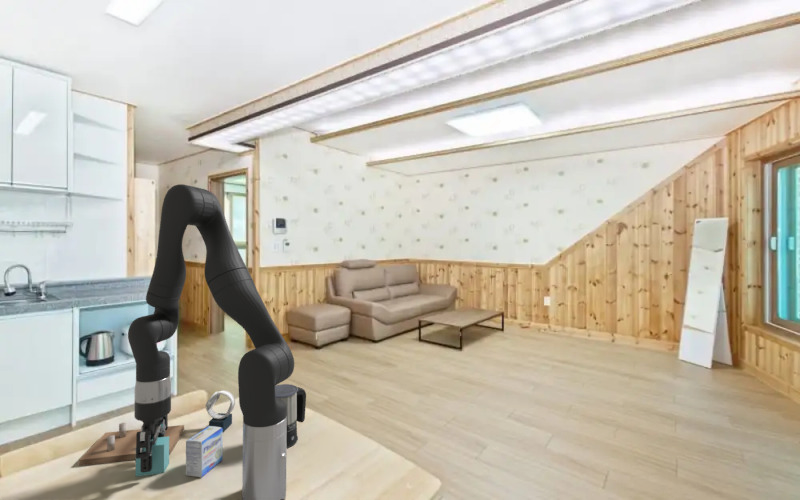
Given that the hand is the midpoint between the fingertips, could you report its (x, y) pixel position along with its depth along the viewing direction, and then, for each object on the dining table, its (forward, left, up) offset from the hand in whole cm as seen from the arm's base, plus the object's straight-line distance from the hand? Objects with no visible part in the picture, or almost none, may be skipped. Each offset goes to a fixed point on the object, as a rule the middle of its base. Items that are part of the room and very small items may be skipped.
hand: (152, 461), depth 94 cm
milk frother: (-28, -10, -2) cm, 30 cm away
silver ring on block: (-12, -19, -2) cm, 23 cm away
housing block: (0, 0, -2) cm, 2 cm away
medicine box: (-12, +2, -2) cm, 12 cm away
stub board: (+8, -13, -2) cm, 15 cm away
